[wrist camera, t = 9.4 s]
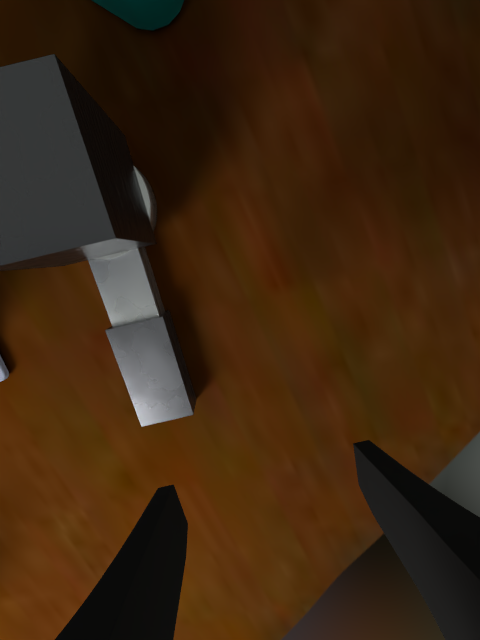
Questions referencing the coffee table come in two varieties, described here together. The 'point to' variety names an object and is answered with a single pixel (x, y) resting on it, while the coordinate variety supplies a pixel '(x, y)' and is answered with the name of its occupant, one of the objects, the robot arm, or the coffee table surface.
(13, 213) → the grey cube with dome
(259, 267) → the coffee table surface
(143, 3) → the teal green bottle
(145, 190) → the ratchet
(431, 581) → the robot arm
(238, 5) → the coffee table surface
